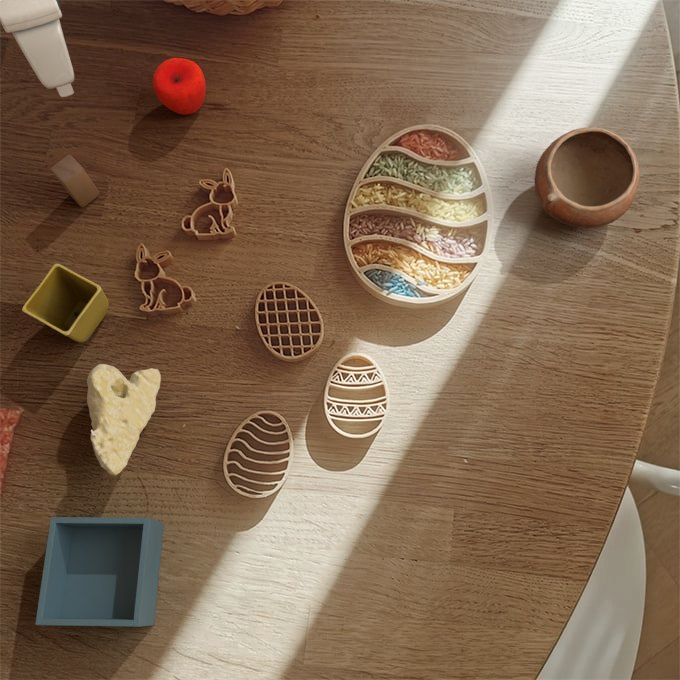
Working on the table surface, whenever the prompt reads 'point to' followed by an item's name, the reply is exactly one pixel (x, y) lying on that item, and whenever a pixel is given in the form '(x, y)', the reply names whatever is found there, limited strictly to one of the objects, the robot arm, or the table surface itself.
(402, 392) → the table surface
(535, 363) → the table surface
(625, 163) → the bowl
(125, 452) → the cheese
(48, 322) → the flower pot
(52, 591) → the tub
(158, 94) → the apple
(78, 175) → the wooden block
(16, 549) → the table surface
